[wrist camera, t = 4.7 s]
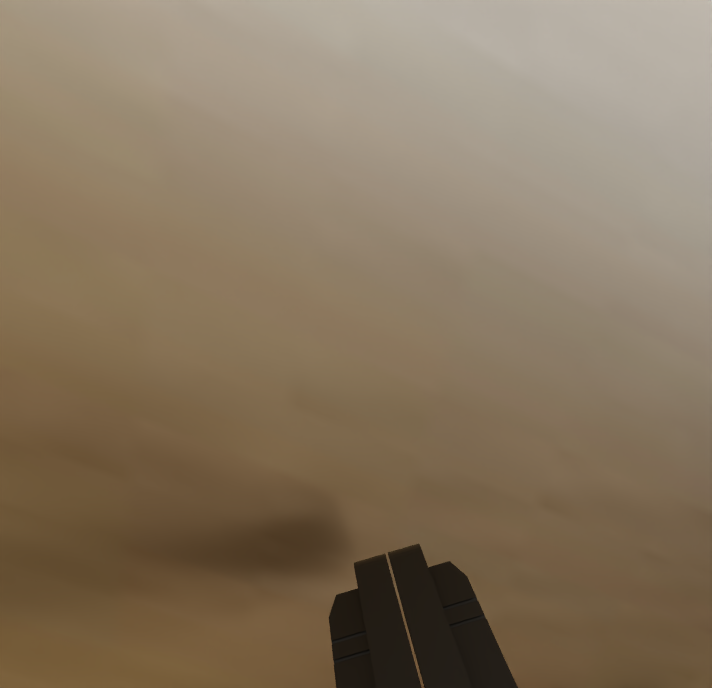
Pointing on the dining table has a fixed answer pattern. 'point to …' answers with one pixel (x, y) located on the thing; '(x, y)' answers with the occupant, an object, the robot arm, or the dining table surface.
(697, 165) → the dining table surface
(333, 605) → the robot arm
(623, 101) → the dining table surface
